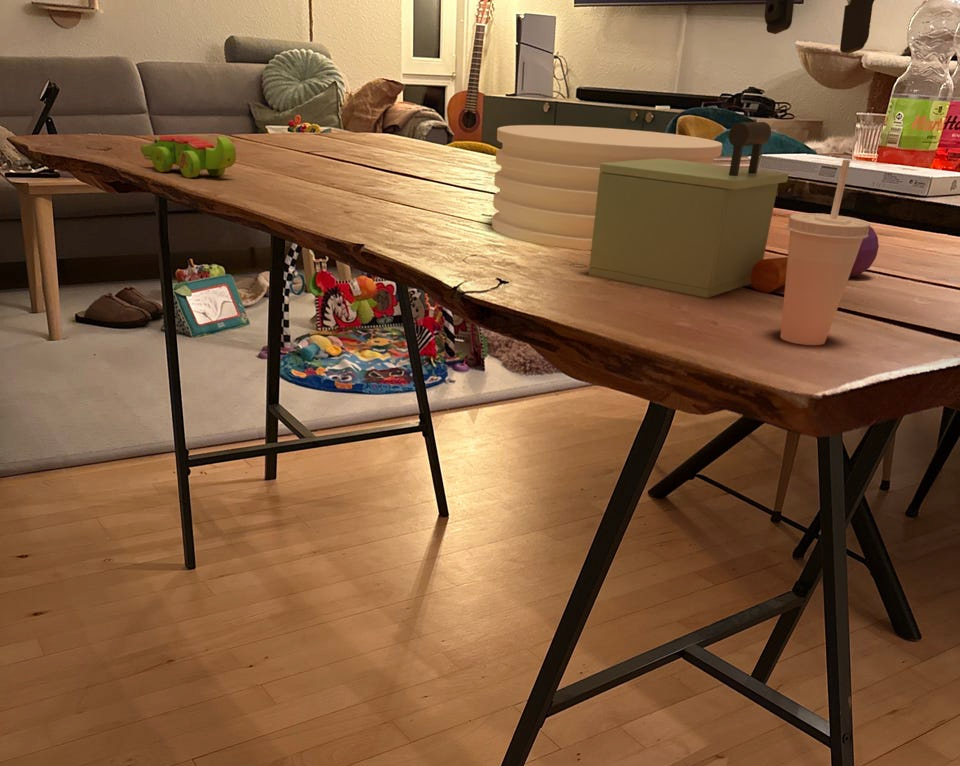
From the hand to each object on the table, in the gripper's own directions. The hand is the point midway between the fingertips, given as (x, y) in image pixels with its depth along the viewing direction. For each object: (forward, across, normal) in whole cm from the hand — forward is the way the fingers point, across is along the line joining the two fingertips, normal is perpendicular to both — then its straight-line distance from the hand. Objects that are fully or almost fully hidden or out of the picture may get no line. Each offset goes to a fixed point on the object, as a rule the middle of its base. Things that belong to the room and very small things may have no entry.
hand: (816, 41), depth 82 cm
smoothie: (+25, -3, -5) cm, 25 cm away
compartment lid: (+8, +1, +16) cm, 18 cm away
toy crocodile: (-2, -32, +104) cm, 109 cm away
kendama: (+17, +16, +14) cm, 27 cm away
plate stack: (+10, +9, +45) cm, 47 cm away
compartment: (+18, +2, +19) cm, 26 cm away
